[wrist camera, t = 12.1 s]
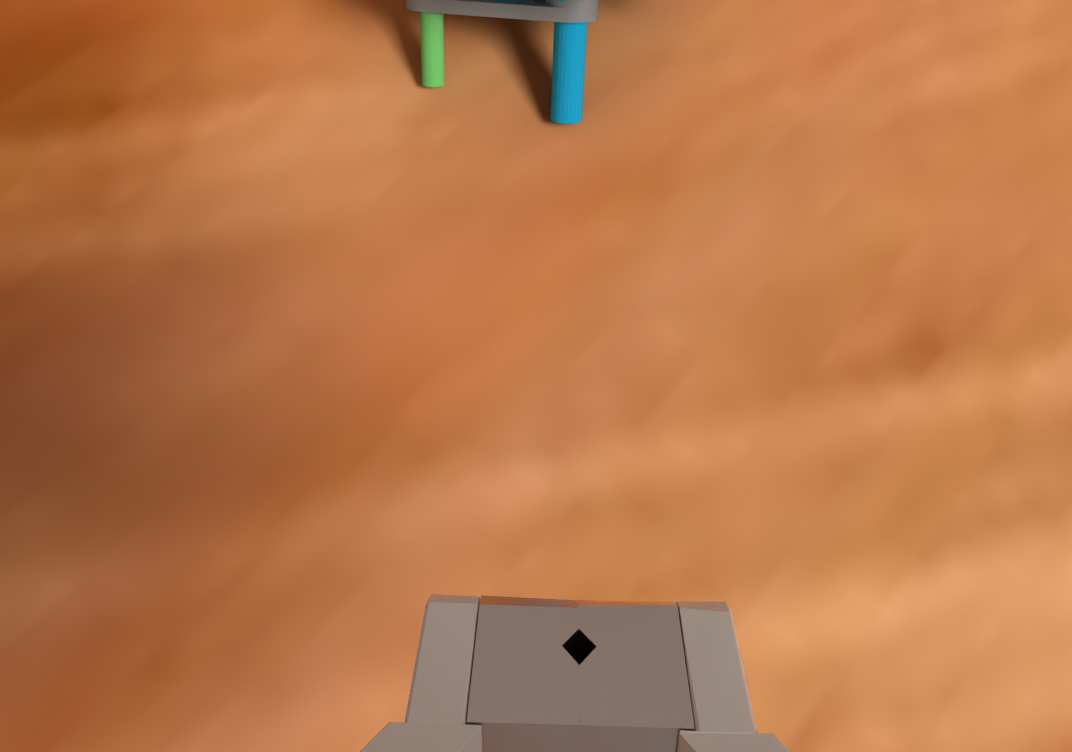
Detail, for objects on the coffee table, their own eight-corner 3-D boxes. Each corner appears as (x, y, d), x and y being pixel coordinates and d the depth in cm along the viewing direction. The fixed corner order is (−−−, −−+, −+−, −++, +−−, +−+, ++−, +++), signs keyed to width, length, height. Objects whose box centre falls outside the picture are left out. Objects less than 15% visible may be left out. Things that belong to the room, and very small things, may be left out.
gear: (756, -85, 32) (739, -59, 23) (732, 98, 35) (709, 181, 26) (433, -102, 34) (309, -83, 25) (437, 73, 37) (326, 142, 28)
